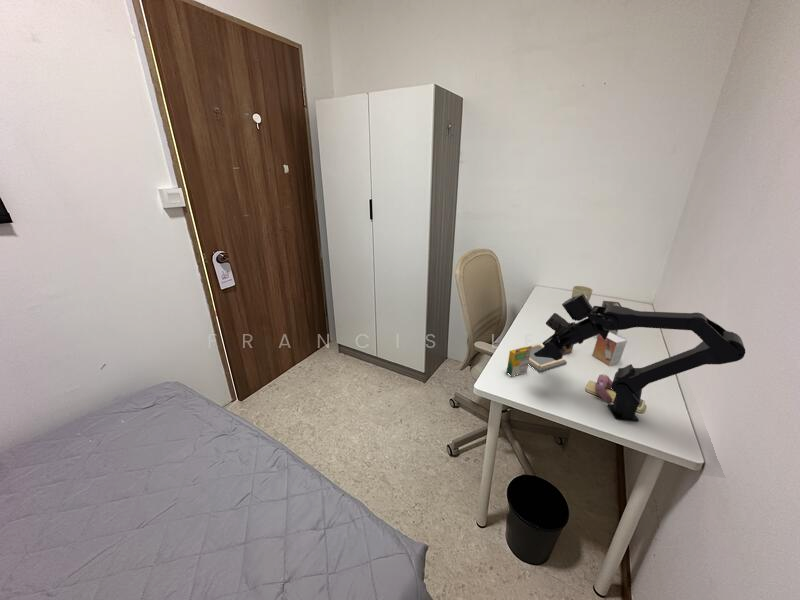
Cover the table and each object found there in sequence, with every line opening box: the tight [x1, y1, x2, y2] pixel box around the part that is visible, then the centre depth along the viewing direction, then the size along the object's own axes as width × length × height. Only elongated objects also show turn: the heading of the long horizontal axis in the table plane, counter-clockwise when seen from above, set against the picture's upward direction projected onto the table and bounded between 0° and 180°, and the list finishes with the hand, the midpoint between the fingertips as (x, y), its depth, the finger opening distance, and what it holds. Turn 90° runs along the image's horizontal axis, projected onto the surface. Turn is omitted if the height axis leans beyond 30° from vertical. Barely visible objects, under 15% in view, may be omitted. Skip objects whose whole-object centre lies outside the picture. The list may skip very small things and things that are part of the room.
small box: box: [592, 332, 628, 367], centre depth 130 cm, size 8×6×10 cm
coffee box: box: [595, 300, 623, 339], centre depth 146 cm, size 9×6×16 cm
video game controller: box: [594, 374, 613, 404], centre depth 112 cm, size 10×5×7 cm, turn 141°
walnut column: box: [563, 322, 574, 356], centre depth 135 cm, size 4×4×12 cm
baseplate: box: [527, 343, 568, 374], centre depth 131 cm, size 14×14×2 cm
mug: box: [571, 285, 593, 303], centre depth 173 cm, size 11×10×12 cm
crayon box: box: [506, 345, 532, 377], centre depth 121 cm, size 7×3×12 cm, turn 113°
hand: (539, 349), depth 115 cm, fingers open, 9 cm apart
